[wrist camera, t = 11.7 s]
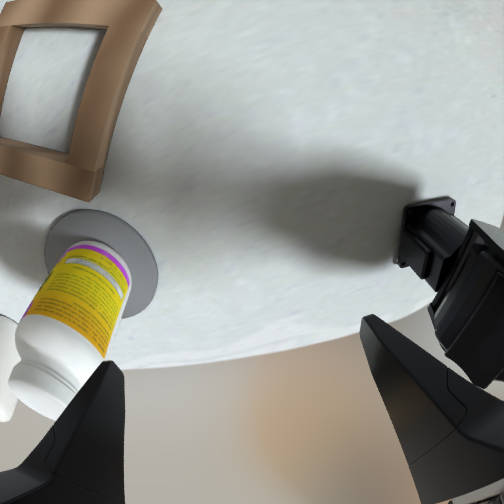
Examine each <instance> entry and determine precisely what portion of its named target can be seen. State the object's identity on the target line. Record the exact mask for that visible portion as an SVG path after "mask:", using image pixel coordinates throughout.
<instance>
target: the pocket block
mask: <svg viewBox="0 0 504 504" xmlns="http://www.w3.org/2000/svg"><path fill="white" fill-rule="evenodd" d="M161 11H162V8H161V6H160V5H159V4H158V2H157V1H156V0H15V1H10V2H6V3H5V5H4V7H3V9H2V12H1V14H0V115H1V109H2V104H3V99H4V95H5V90H6V86H7V82H8V78H9V74H10V71H11V67H12V64H13V60H14V57H15V54H16V51H17V48H18V45H19V43H20V40H21V37H22V34H23V32H24V29H25V28H26V27H78V28H92V29H102V30H107V31H106V34H105V36H104V38H103V41H102V43H101V45H100V48H99V50H98V53H97V55H96V58H95V61H94V63H93V66H92V69H91V72H90V74H89V77H88V80H87V83H86V87H85V90H84V93H83V96H82V100H81V103H80V107H79V111H78V114H77V118H76V122H75V127H74V131H73V135H72V140H71V145H70V150H69V154H67V153H63V152H59V151H56V150H52V149H48V148H44V147H40V146H36V145H32V144H28V143H24V142H19V141H15V140H11V139H6V138H2V137H0V174H1V175H4V176H7V177H10V178H13V179H16V180H20V181H23V182H26V183H29V184H32V185H35V186H39V187H42V188H45V189H48V190H51V191H54V192H58V193H61V194H64V195H67V196H70V197H73V198H77V199H80V200H83V201H86V202H90V201H91V200H92V199H93V198H94V197H95V196H96V195H97V194H98V193H99V191H100V186H101V181H102V176H103V171H104V167H105V162H106V158H107V154H108V150H109V146H110V142H111V138H112V135H113V131H114V128H115V124H116V121H117V117H118V114H119V111H120V108H121V105H122V102H123V99H124V96H125V93H126V90H127V87H128V85H129V82H130V79H131V77H132V74H133V71H134V69H135V66H136V64H137V61H138V59H139V57H140V54H141V52H142V50H143V47H144V45H145V43H146V41H147V39H148V36H149V34H150V32H151V30H152V28H153V26H154V24H155V22H156V20H157V18H158V16H159V14H160V12H161Z"/></svg>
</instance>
